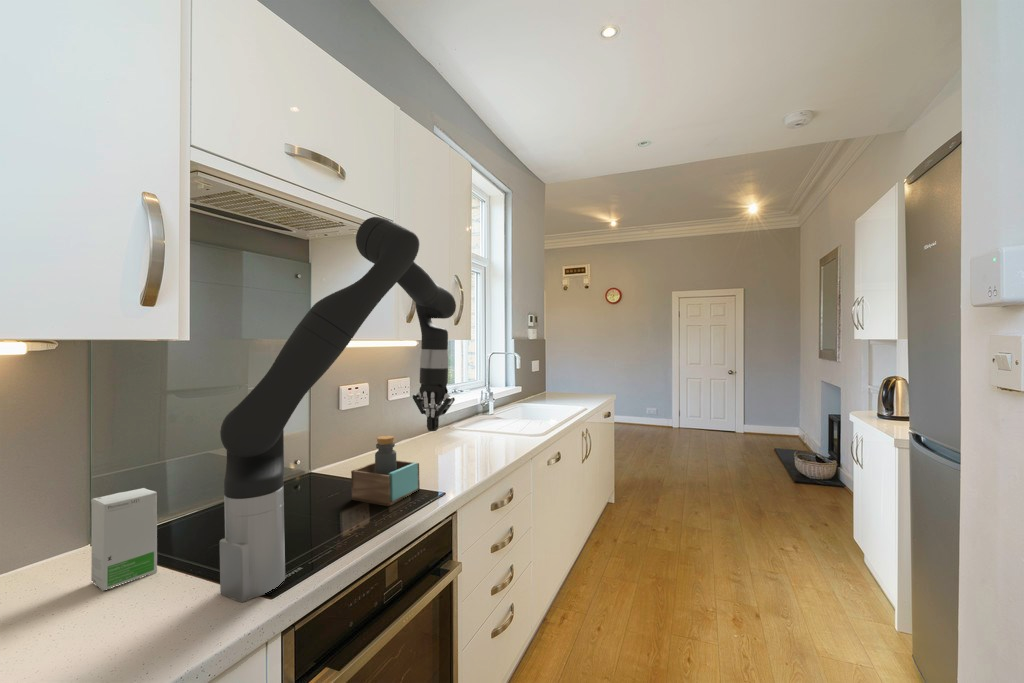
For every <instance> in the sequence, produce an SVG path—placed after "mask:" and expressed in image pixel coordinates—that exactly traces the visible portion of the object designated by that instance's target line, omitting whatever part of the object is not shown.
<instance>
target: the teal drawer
mask: <svg viewBox="0 0 1024 683" xmlns="http://www.w3.org/2000/svg"><path fill="white" fill-rule="evenodd" d="M418 463H419V462H414V463H412V464H410V465H407V466H405V467H402V468H400V469H398V470H395V471H393V472H390V473H389V475H390V494H391V501H394V500H396V499H398V498H400V497H402V496H404V495H406V494H408V493H410V492H412V491H414V490H416V489H418Z"/></svg>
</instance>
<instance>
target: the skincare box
mask: <svg viewBox="0 0 1024 683" xmlns="http://www.w3.org/2000/svg"><path fill="white" fill-rule="evenodd" d="M157 494H158V493H157V491H156V490H152V489H151V490H150V489H147V488H146V487H141V488H137V489H133V490H127V491H121V492H117V493H112V494H108V495H104V496H100V497H93V498H92V499H90V502H91V574H90V576H91V581H93V583H95V584H96V585H97V586H98V587H99V589H100V588H101V589H102V590H101V589H100V590H101V591H103V590H106V589H109V588H111V587H113V586H116V585H119V584H122V583H125V582H128V581H131V580H134V579H137V578H140V577H142V576H145V575H148V576H150V575H149V574H151V575H154V574H157V572H158V537H157V536H158V511H157V510H158V506H157V505H158V504H157V503H158V502H157V500H158V495H157ZM153 573H154V574H153ZM145 577H146V576H145ZM142 578H143V577H142ZM140 579H141V578H140ZM137 580H138V579H137ZM134 581H135V580H134ZM131 582H132V581H131ZM93 583H92V584H93ZM96 585H95V586H96ZM97 586H96V587H97ZM98 587H97V588H98Z"/></svg>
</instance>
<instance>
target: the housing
mask: <svg viewBox="0 0 1024 683" xmlns="http://www.w3.org/2000/svg"><path fill="white" fill-rule="evenodd" d="M396 463H397V470H398V469H400V468H402V467H405V466H407V465H410V464H412V463H415V462H414V461H413V462H412V461H406V460H405V461H404V460H397V459H396ZM417 463H418V489H416V490H414V491H412V492H410V493H408V494H406V495H404V496H402V497H400V498H398V499H396V500H394V501H391V494H390V475H384V474H377V473H375V461H374V462H373V463H369V464H366V465H364V466H362V467H359V468H356V469H353V470H350V471H351V472H350V473H351V474H350V475H351V476H350V478H351V500H352V501H357V502H363V503H368V504H373V505H380V506H383V507H384V506H385V507H390V506H392V505H394V504H397V503H398V502H400V501H402V500H404V499H406V498H408V497H410V496H411V494H412V493H414V492H416V491H417V492H419V491H420V487H421V486H420V462H417ZM418 490H419V491H418ZM417 492H416V493H417ZM414 494H415V493H414ZM409 495H410V496H409ZM412 495H413V494H412ZM407 496H408V497H407ZM405 497H406V498H405ZM403 498H404V499H403Z"/></svg>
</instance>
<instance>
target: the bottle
mask: <svg viewBox="0 0 1024 683" xmlns="http://www.w3.org/2000/svg"><path fill="white" fill-rule="evenodd" d="M394 438H395V436H394V435H381V436H377V437H376V441H377V443H376V444H375V447H376V449H377V451H376V452H375V453H374V462H375V473H377V474H384V475H389V473H390V472H393V471H395V470H397V463H396V460H397V451H396V450H394V449H393V448H394V447H395V446H396V443H395V442H394V440H395V439H394Z"/></svg>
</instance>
